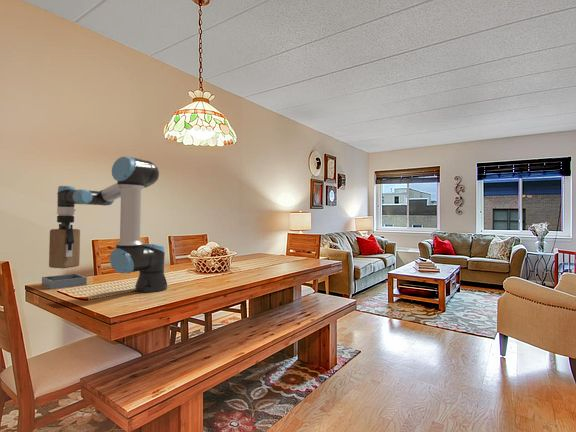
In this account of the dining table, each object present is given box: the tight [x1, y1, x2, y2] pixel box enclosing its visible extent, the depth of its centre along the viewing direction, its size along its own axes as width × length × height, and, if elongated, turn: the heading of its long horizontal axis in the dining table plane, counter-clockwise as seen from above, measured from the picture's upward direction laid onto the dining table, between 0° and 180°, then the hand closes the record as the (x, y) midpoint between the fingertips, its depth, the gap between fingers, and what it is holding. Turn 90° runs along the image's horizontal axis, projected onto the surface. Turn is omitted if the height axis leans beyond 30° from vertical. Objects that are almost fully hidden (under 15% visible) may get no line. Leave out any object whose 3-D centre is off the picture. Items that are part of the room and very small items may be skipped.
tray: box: [41, 273, 88, 291], centre depth 173 cm, size 16×16×4 cm
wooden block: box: [48, 228, 81, 269], centre depth 173 cm, size 10×10×20 cm
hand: (64, 255), depth 173 cm, fingers open, 13 cm apart
